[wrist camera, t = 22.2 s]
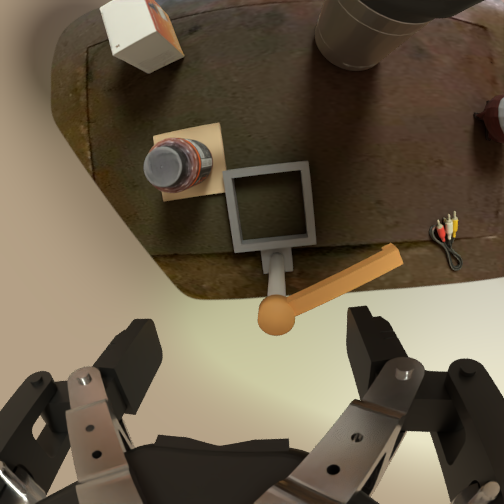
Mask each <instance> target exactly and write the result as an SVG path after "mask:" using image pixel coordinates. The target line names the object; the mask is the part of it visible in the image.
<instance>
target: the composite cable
mask: <svg viewBox="0 0 504 504" xmlns="http://www.w3.org/2000/svg"><path fill="white" fill-rule="evenodd" d="M453 214H454V215H453V218H452V219H450V214H448V219H446V218H445V217H443V225H442V224H440V221H439V220H437V223H438V224H437V225H434V226H432V227H431V228H430V230H429V233H430V236H431V238H432V239H433V240H434V241H436V242H437V243H439V244H440V245H441V246H442V247H443V248H444V249H445V252H446V255H447V258H448V262H449V265H450V267H451V268H452V269H453V270H459V269H461V267H462V265H463V261H462V258H461V257H460V256H459V255H458V254H457V253H456V252H455V251H454V250H453V249H452V243H453V241H454V238H455V235H456V231H457V228H458V219H457V217H456V211H454V212H453ZM435 228H436V229H437V232H438V235H439V237H440V238H441V240H442V242H444V243H441V242H440V241H439V240H437V239H436V238H435V236H434V229H435ZM451 234H452V235H451ZM452 237H453V239H452ZM450 252H451V253H452V254H453V255H454V256H455V257H456V258H457V259H458V261H459V264H458V265H457V266H454V265H453V263H452V260H451V256H450Z"/></svg>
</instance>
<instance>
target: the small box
mask: <svg viewBox="0 0 504 504" xmlns="http://www.w3.org/2000/svg"><path fill="white" fill-rule="evenodd" d="M100 12H101V14H102V18H103V21H104V24H105V28H106V31H107V35H108V38H109V42H110V45H111V50H112V54H113V56H115V57H117V58H119V59H121V60H123V61H125V62H127V63H129V64H131V65H133V66H135V67H137V68H139V69H140V70H142V71H144V72H146V73H148V74H150V73H151V72H153V71H155V70H157V69H159V68H161V67H163V66H166V65H168V64H170V63H172V62H174V61H176V60H178V59H181V58H183V57H184V54H183V52H182V49H181V47H180V45H179V42H178V40H177V37H176V34H175V32H174V29H173V26H172V24H171V21H170V19H169V16H168V15H167V14H166V13H165V12H164V11H163V10H162V8H161V7H160V6H159V5H158V4H157V3H156V2H155V1H154V0H112V1H111V2H109V3H107V4H105V5H104V6H102V7H101V8H100Z"/></svg>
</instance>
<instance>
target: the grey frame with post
mask: <svg viewBox="0 0 504 504" xmlns="http://www.w3.org/2000/svg"><path fill="white" fill-rule="evenodd" d="M296 170H300V174H301V183H302V192H303V201H304V211H305V221H306V232H307V234H297V235H288V236H278V237H269V238H260V239H251V240H243V238H242V231H241V224H240V218H239V211H238V204H237V197H236V190H235V183H234V178H238V177H245V176H253V175H261V174H269V173H278V172H287V171H296ZM222 173H223V180H224V187H225V193H226V200H227V207H228V213H229V220H230V226H231V233H232V239H233V245H234V252H235V253H239V252H249V251H258V250H261V257H262V264H263V272H264V274H268V273H269V283H268V296H270V295H275V294H278V295H283V296H285V297H286V291H285V272H288V271H293V262H292V252H291V247H296V246H305V245H315V244H316V232H315V221H314V210H313V199H312V189H311V180H310V171H309V162H308V161H298V162H288V163H279V164H270V165H262V166H254V167H246V168H239V169H232V170H226V171H222Z"/></svg>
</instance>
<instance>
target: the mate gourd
mask: <svg viewBox="0 0 504 504" xmlns="http://www.w3.org/2000/svg"><path fill="white" fill-rule="evenodd" d="M474 118H477V119H479V120H482V121H484V123H485V126H486V139H487V140H491V139H492V140H494V141H496V142H499V143H504V95H498V96H495V97H494V98H492V99H491V100H490V101H487V104H486V107H485V109H484V111H483V112H481V113H474Z"/></svg>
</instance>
